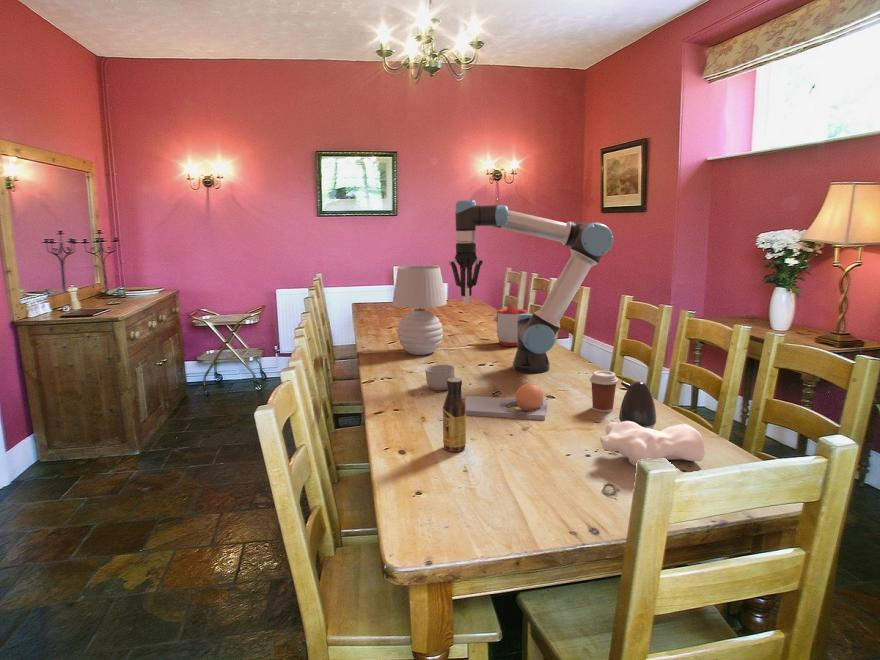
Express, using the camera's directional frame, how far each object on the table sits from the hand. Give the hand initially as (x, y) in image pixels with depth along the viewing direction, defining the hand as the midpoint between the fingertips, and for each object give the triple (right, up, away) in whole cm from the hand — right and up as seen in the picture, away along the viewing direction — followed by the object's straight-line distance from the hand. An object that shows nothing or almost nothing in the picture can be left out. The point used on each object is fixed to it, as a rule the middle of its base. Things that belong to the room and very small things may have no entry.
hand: (466, 304), depth 218 cm
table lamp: (-19, -21, +50) cm, 58 cm away
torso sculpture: (+43, -44, -72) cm, 95 cm away
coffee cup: (+43, -36, -32) cm, 65 cm away
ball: (+19, -32, -34) cm, 50 cm away
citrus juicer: (+25, -17, +64) cm, 71 cm away
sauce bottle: (-6, -43, -63) cm, 76 cm away
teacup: (-10, -31, -5) cm, 33 cm away
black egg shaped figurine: (+47, -40, -53) cm, 81 cm away
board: (+11, -36, -31) cm, 49 cm away
